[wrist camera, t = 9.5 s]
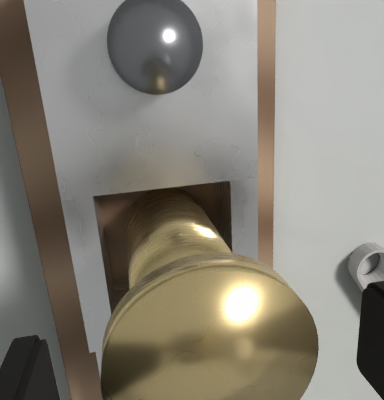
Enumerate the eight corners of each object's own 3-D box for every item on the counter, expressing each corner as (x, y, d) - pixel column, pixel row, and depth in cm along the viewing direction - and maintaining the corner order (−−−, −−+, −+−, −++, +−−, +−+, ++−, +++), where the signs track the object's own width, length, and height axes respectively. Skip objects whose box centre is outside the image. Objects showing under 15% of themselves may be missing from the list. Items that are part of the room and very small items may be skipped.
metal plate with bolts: (240, 379, 23) (271, 453, 18) (110, 406, 21) (108, 493, 17) (231, -26, 16) (278, -69, 11) (34, -22, 14) (-4, -70, 10)
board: (264, 371, 24) (271, 385, 23) (79, 409, 22) (77, 427, 21) (265, -45, 17) (276, -54, 16) (-16, -42, 15) (-27, -52, 14)
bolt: (221, 264, 20) (314, 428, 10) (117, 281, 19) (117, 476, 10) (216, 164, 18) (323, 254, 9) (101, 177, 17) (81, 294, 8)
